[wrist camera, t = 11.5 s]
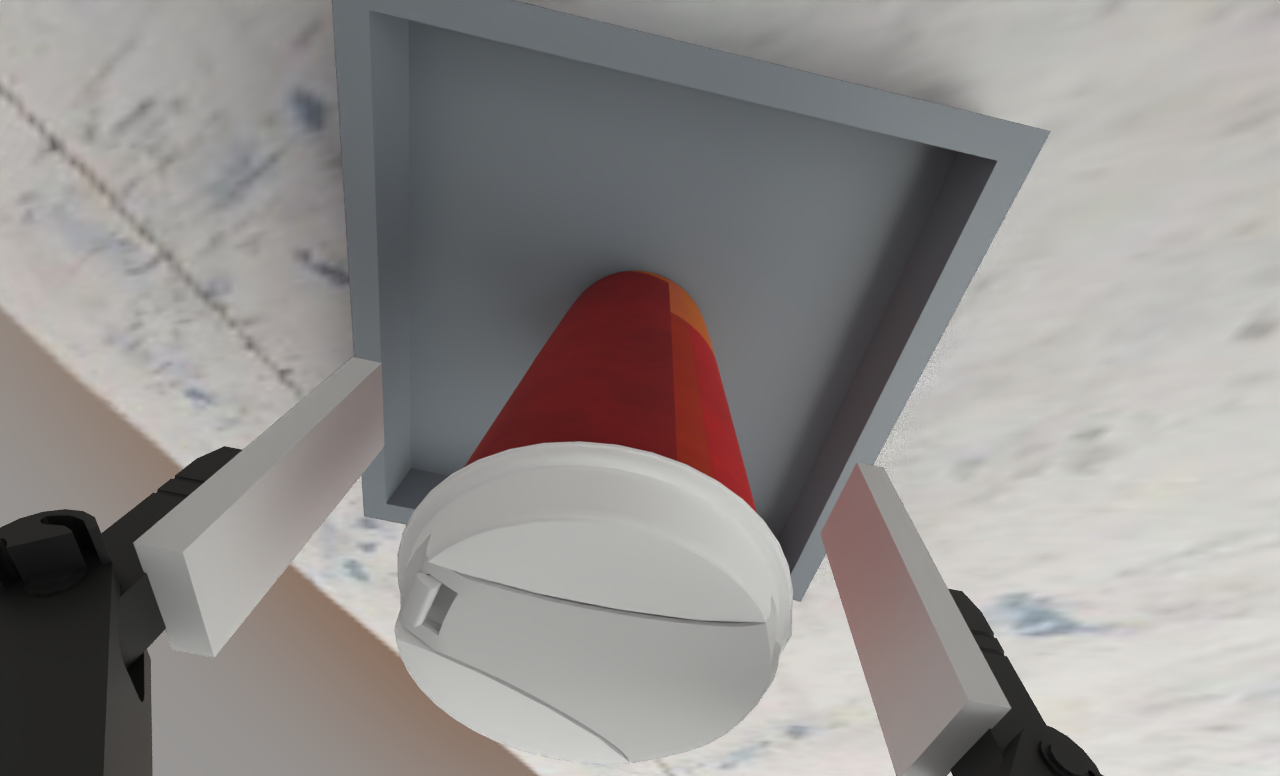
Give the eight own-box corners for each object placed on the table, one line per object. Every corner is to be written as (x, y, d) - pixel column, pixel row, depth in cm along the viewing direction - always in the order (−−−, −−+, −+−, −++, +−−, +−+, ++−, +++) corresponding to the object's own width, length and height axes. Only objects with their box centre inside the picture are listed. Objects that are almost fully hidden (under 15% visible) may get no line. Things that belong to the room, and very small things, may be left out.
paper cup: (513, 372, 23) (328, 705, 11) (586, 203, 19) (429, 414, 7) (678, 445, 24) (679, 815, 12) (774, 300, 21) (913, 616, 8)
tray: (988, 122, 18) (1050, 131, 15) (787, 544, 28) (800, 601, 25) (390, -23, 17) (328, -45, 14) (399, 467, 27) (364, 516, 24)
